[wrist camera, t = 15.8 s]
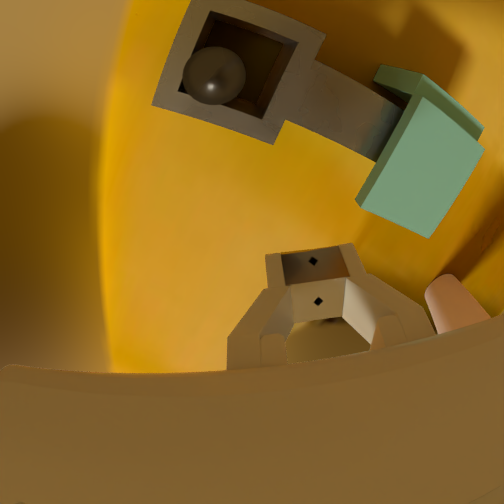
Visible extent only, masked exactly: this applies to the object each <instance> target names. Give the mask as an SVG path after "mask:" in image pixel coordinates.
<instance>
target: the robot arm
mask: <svg viewBox="0 0 504 504" xmlns="http://www.w3.org/2000/svg"><path fill="white" fill-rule="evenodd" d="M265 262H266V272H267V283H268V288H267V289H263V291H262V292H261V293H260V295H259V296H258V297H257V299H256V300H255V301H254V303H253V304H252V306H251V307H250V308H249V310H248V311H247V312H246V314H245V315H244V316H243V318H242V319H241V320H240V322H239V323H238V324H237V326H236V327H235V328H234V330H233V331H232V332H231V334H230V335H229V336H228V340H227V370H224V371H208V372H188V373H102V372H83V371H68V370H55V369H45V368H36V367H27V366H21V365H12V364H11V365H7V366H6V367H4V368H3V369H1V370H0V504H504V314H502V315H499V316H496V317H493V318H490V319H487V320H484V321H481V322H478V323H475V324H472V325H469V326H465V327H462V328H459V329H455V330H452V331H448V332H445V333H441V334H438V335H436V334H435V332H434V330H433V328H432V326H431V324H430V321H429V319H428V317H427V315H426V313H425V311H424V309H423V307H421V306H420V305H418V304H417V303H415V302H414V301H412V300H411V299H409V298H408V297H406V296H405V295H403V294H402V293H400V292H399V291H397V290H395V289H394V288H392V287H391V286H389V285H388V284H386V283H384V282H383V281H381V280H380V279H378V278H377V277H375V276H373V275H372V274H366V272H365V269H364V267H363V265H362V263H361V260H360V258H359V256H358V254H357V252H356V249H355V247H354V245H353V244H352V243H348V244H341V245H337V246H331V247H324V248H316V249H308V250H299V251H290V252H281V254H280V253H274V254H266V255H265ZM340 316H342V317H343V318H344V319H345V320H346V321H347V322H348V323H349V324H350V325H351V326H352V327H353V328H354V329H355V330H356V331H357V332H359V333H360V334H361V335H362V336H363V337H364V338H365V339H366V340H367V341H368V342H369V343H370V344H371V347H370V350H369V351H366V352H361V353H356V354H350V355H345V356H339V357H333V358H327V359H321V360H314V361H308V362H301V363H293V364H288V363H287V355H286V347H285V341H286V339H287V337H288V335H289V334H290V332H291V330H292V328H293V326H294V323H300V322H306V321H311V320H317V319H325V318H333V317H340Z"/></svg>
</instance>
